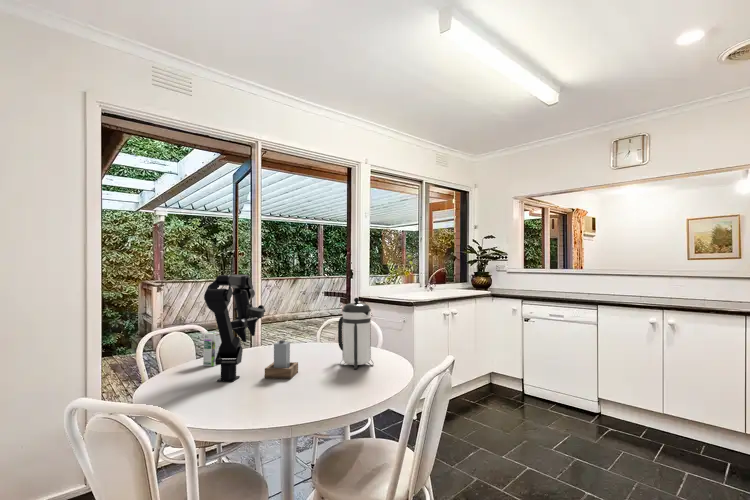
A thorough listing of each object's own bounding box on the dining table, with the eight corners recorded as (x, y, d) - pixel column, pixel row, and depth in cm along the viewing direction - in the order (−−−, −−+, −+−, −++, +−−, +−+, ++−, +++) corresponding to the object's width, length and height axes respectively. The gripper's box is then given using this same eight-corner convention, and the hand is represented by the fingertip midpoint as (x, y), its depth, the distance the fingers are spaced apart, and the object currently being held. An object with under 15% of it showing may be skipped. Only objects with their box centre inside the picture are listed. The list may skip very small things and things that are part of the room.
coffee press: (375, 361, 178) (374, 296, 180) (371, 370, 162) (371, 298, 164) (338, 360, 180) (338, 296, 181) (331, 369, 164) (331, 298, 165)
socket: (290, 379, 150) (290, 369, 150) (264, 378, 151) (264, 368, 151) (298, 372, 160) (298, 362, 160) (273, 371, 161) (273, 362, 161)
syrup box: (202, 365, 171) (202, 333, 172) (211, 362, 177) (212, 330, 178) (213, 366, 170) (213, 333, 170) (222, 363, 175) (222, 331, 176)
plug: (286, 374, 153) (286, 341, 153) (273, 374, 153) (273, 341, 154) (289, 371, 158) (289, 339, 158) (277, 371, 158) (278, 339, 159)
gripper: (251, 305, 155) (259, 342, 156) (268, 296, 174) (274, 330, 175) (225, 309, 156) (233, 346, 157) (244, 300, 175) (251, 333, 176)
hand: (249, 338), depth 166 cm, fingers open, 9 cm apart
